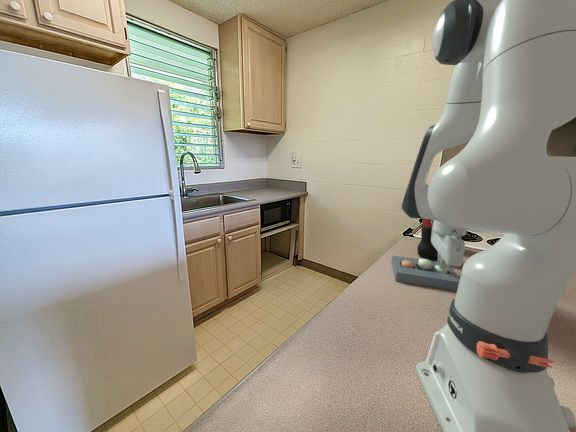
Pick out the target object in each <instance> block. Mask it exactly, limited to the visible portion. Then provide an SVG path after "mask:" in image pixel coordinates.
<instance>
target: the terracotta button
mask: <svg viewBox="0 0 576 432" xmlns="http://www.w3.org/2000/svg"><path fill="white" fill-rule="evenodd" d="M413 265H414V263H413V262H411V261H408V260H403V261H402V264H401V267H406V268H413Z"/></svg>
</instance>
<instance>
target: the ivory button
mask: <svg viewBox="0 0 576 432" xmlns="http://www.w3.org/2000/svg"><path fill="white" fill-rule="evenodd" d="M418 259H419V262H418V267H420V268H422V269H430V266H431V261H432V260H427V259H424V258H418Z"/></svg>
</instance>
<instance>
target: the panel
mask: <svg viewBox="0 0 576 432" xmlns="http://www.w3.org/2000/svg"><path fill="white" fill-rule="evenodd" d="M419 259H420V258H415V257H408V256H401V255H400V256H399V255H392V256H391V267H392V272H393V275H394V280H395V282H401V283H406V284H413V285H418V286H423V287H424V286H425V287H431V288H437V289H443V290H448V291H454V292H457V289H458V285H459V280H460V276H458V274H457V273H456V272H455V271H454V268H452V267H453V266H450V265H447V266H446V267H447V268H448V271H447V274H446V273H439V272H435V271H434V268H435V265H438V264H437V263H438V261H437V260H430V261H431V266H430V269H422V268H420V267H418V262H419ZM403 260H408V261H411V262H413V263H414V265H413V268H406V267H401V264H402V261H403Z"/></svg>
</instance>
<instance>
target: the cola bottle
mask: <svg viewBox="0 0 576 432" xmlns="http://www.w3.org/2000/svg"><path fill="white" fill-rule="evenodd" d="M431 221H432V220H430V219H424V218H423V219H422V223H421V225H420V226H421V237H420V238H421V239H420V241H419V243H418V245H417V254H418V256H419V257H420V258H421V259H427V260H430V261H438V251H437V250H436V249H435V247H434V246H433V245H432V243H431V233H432V226H433V225H432V224H431Z"/></svg>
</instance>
